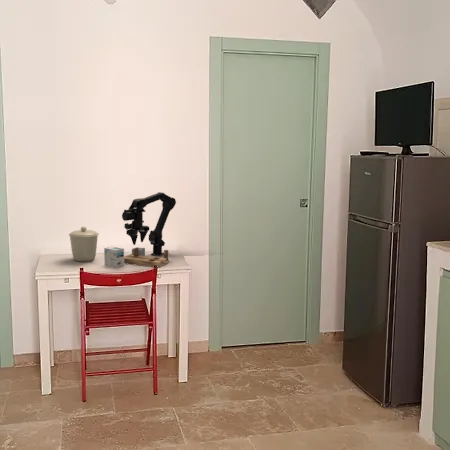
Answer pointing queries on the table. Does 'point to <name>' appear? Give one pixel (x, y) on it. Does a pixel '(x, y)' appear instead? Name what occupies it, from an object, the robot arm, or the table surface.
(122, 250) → the light bulb box
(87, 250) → the canister
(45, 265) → the table surface
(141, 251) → the grey cube
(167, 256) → the pin
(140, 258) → the board
